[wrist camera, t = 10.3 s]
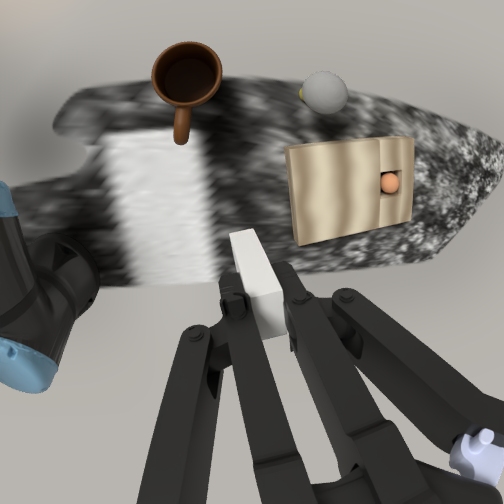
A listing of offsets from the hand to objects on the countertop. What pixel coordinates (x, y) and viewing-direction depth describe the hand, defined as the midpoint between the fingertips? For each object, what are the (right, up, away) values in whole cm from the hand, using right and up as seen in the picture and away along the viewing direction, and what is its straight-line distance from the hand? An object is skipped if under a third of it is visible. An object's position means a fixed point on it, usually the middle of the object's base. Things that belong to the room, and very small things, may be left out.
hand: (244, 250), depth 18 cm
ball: (+23, +11, +25) cm, 36 cm away
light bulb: (+8, +22, +18) cm, 29 cm away
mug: (-8, +20, +15) cm, 27 cm away
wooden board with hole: (+17, +11, +26) cm, 32 cm away
